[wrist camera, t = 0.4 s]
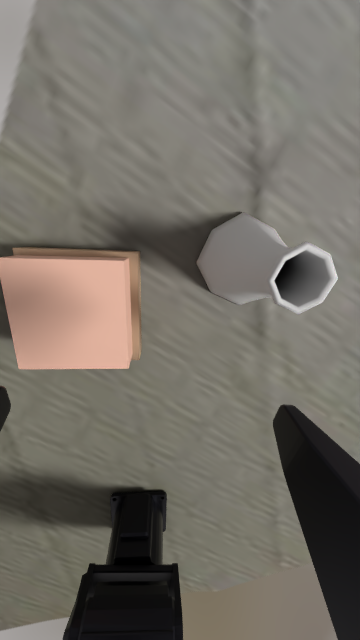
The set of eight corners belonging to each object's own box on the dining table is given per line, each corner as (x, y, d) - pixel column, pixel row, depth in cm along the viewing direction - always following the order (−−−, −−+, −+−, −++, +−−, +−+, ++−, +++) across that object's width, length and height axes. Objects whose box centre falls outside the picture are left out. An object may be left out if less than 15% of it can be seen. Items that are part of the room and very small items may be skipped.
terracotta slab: (132, 353, 21) (128, 368, 18) (35, 353, 20) (18, 369, 18) (128, 257, 18) (123, 260, 16) (18, 255, 18) (-5, 257, 15)
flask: (180, 262, 21) (194, 283, 11) (243, 194, 19) (321, 152, 10) (237, 317, 22) (290, 375, 13) (298, 259, 21) (407, 276, 12)
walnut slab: (142, 347, 23) (139, 359, 21) (45, 346, 23) (31, 359, 20) (140, 250, 21) (137, 252, 18) (30, 246, 20) (12, 248, 18)
